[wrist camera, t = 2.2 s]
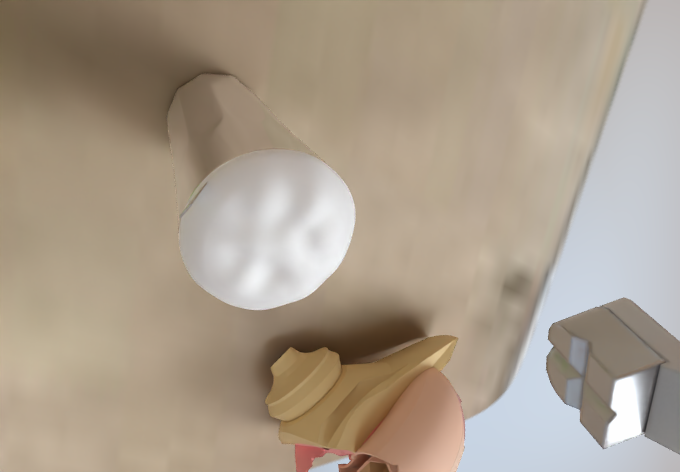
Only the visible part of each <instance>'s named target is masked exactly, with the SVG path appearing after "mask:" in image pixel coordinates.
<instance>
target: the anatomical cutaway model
mask: <svg viewBox="0 0 680 472" xmlns="http://www.w3.org/2000/svg"><path fill="white" fill-rule="evenodd" d="M457 340H458V338H457V337H454V336H449V335H440V336H434V337H429V338H426V339H424V340H422V341H420V342H418V343H415V344H413V345H411V346H409V347H406V348H404V349H402V350H400V351H398V352H395V353H393V354H391V355H389V356H387V357H385V358H383V359H380V360H378V361H376V362H374V363H364V364H349V365H341V364H340V359H339V355H338V353H335V352H332V351H329V350H328V349H327V347H323V348H320V349H318V350H316V351H314V352H310V353H301V352H299V351H297V350H295V349H294V348H292V347H290V348H289V349H288V350H287V351H286V352H285V353H284V354H283V355H282V356H281V357H280V358H279V359H278V360H277V361H276V362H275V363H274V364H273V366H272V367H271V371H272V373H273V376H274V383H273V386H272V389H271V391H270V392H269V394H268V396H267V398H266V400H265V403H266V404H267V405H268V409H269V415H270V416H271V417H274V418H277V419H280V420H281V423H280V428H279V434H278V435H279V440H280V441H281V442H282V444H295V458H296V471H297V472H308V470H309V469H310V468H311V467H312V462H313V461H314V459H315V457H322V456H323V455H324V454H325V453H327V452H328V453H334V454H336V455H338V456H344V455H348V454H349V459H350V460H351V461H350V462H349V463H348V464H338V466H339V472H456V470H457V467H458V465H459V462H460V460H461V457H462V454H463V451H464V439H465V421H464V415H463V410H462V407H461V402H462V401H461V399H460V398H459V396H458V394H457V393H456V392H455V390H454V388H453V386H452V385H451V383H450V382H449V380H448V379H447V378H446V377H445V376H444V375H443V374H442V373H441V372H440V371H441V370H442V369H443V368H444V367H445V365H446V364H447V363H448V362H449V360H450V358H451V356H452V353H453V350H454V348H455V345H456V343H457Z"/></svg>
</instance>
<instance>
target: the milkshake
mask: <svg viewBox="0 0 680 472" xmlns="http://www.w3.org/2000/svg"><path fill="white" fill-rule="evenodd" d="M167 126H168V133H169V141H170V149H171V156H172V164H173V171H174V179H175V189H176V203H177V218H178V233H179V246H180V252H181V256H182V259H183V262H184V264H185V267H186V269H187V271H188V272H189V274H190V276H191V277H192V278H193V280H194V281H195V282H196V283H197V284H198V285H199V286H200V287H202V288H203V289H204V290H206V291H207V292H208V293H210V294H211V295H213V296H214V297H216V298H218V299H219V300H221V301H223V302H225V303H227V304H230V305H233V306H236V307H239V308H244V309H250V310H267V309H272V308H275V307H279V306H282V305H285V304H288V303H292V302H295V301H298V300H301V299H303V298H305V297H307V296H308V295H310V294H311V293H313V292H314V291H315V290H316V289H317V288H318V287H319V286H320V285H321V284H322V283H323V282H324V281H325V280H326V279H327V278H328V277H329V276H330V275H332V273H333V272H334V271H335V270H336V269H337V268H338V267H339V265H340V264H341V262H342V260H343V259H344V257H345V254H346V252H347V250H348V247H349V245H350V242H351V238H352V234H353V230H354V225H355V214H356V213H355V205H354V201H353V198H352V195H351V193H350V191H349V189H348V187H347V185H346V184H345V182H344V181H343V180H342V178H341V177H340V176H339V175H338V174H337V173H336V172H335V171H334V170H333V169H332V168H331V167H330V166H329V165H327V164H326V163H325V162H324V161H323V160H322V159H321V158H320V157H319V156H318V155H317V154H316V153H314V152H313V151H312V150H311V149H310V148H309V147H308V146H307V145H306V144H305V143H304V142H302V141H301V140H300V139H299V138H298V137H297V136H296V135H294V134H293V133H292V132H291V131H290V130H289V129H288V128H287V127H286V126H285V125H284V124H283V123H282V122H281V121H280V119H279V118H278V117H277V116H276V115H275V114H274V113H273V112H272V111H271V110H270V109H269V108H268V107H267V106H266V105H265V104H264V103H263V102H262V101H261V100H260V98H259V97H258V96H257V95H256V94H255V93H253V92H252V91H251V90H250V89H248V88H247V87H246V86H245V85H244V84H242V83H241V82H240V81H239V80H238V79H237V78H235V77H234V76H233V75H220V74H205V73H203V74H201V75H199V76H198V77H196V78H194V79H193V80H191V81H190V82H188V83H186V84H185V85H183V86H181V87H180V88H178V89H177V91H176V93H175V96H174V98H173V101H172V104H171V106H170V109H169V111H168V113H167Z"/></svg>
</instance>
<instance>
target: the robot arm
mask: <svg viewBox="0 0 680 472" xmlns="http://www.w3.org/2000/svg"><path fill="white" fill-rule="evenodd" d="M548 340H549V341H550V342H551V343H552V344H553V345H554V347H553V348H552V349H551V351H550V352H549V354H548V355H547V362H546V370H547V373H548V376H549V380H550V383H551V384H552V386H553V388H554V390H555V391H556V393H557V394H558V396H559V397H560V398H561V399H562V400H563V402H564V403H565V404H567V405H569V406H572V407H574V408H577V409H579V410H580V422H581V423H582V425H583V426H584V427H585V428H586V429H587V431H588V432H589V433H590V434H591V435H592V436H593V438H594V439H596V441H597V442H598V443H599V445H600V446H601V447H602V448H603V449H606V448H608V447H611V446H613V445H616V444H619V443H621V442H624V441H627V440H629V439H632V438H634V437H637V436H640V435H642V434H645V437H647V438H649V439H651V440H653V441H655V442H657V443H659V444H661V445H663V446H664V447H666V448H668V449H670V450H672V451H674V452H676V453H678V454H680V341H678V340H677V339H676V338H675V337H674V336H673V335H671V334H670V333H669V332H668V331H667V330H666V329H664V328H663V327H662V326H661V325H660V324H659V323H657V322H656V321H655V320H654V319H653V318H652V317H650V316H649V315H648V314H647V313H645V312H644V311H643V310H642V309H641V308H640V307H639V306H637V305H636V304H635V303H634V302H633V301H631V300H629V299H627V298H621V299H618V300H616V301H613V302H610V303H607V304H605V305H602V306H600V307H595V308H593V309H590V310H587V311H584V312H582V313H579V314H577V315H574V316H572V317H569V318H566V319H563V320H561V321H558V322H556V323H553V324H552V326H551V327H550V329H549V335H548Z"/></svg>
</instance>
